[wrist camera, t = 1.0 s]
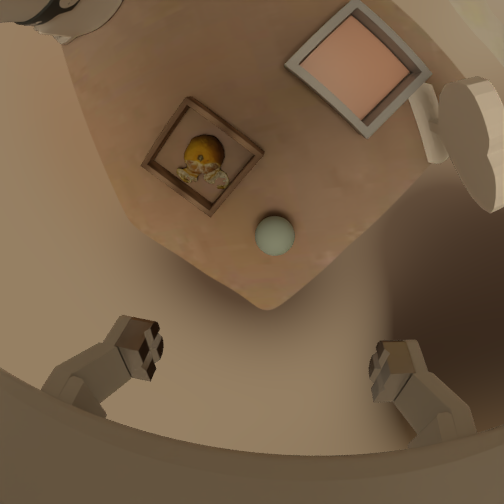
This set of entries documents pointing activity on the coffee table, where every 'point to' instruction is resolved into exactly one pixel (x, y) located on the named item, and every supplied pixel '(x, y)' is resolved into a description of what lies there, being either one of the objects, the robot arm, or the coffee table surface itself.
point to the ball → (274, 235)
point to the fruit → (204, 160)
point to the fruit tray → (177, 183)
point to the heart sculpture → (465, 134)
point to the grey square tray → (359, 67)
